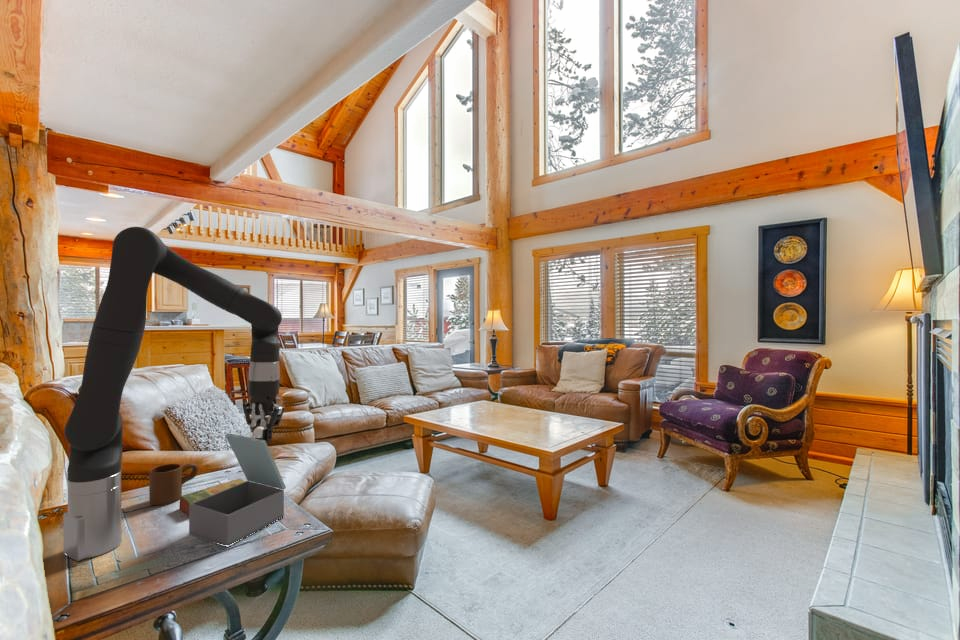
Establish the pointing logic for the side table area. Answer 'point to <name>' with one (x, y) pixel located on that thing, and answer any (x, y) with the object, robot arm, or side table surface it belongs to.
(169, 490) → the mug
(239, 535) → the storage box
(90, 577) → the side table surface
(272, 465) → the lid flap
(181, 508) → the carton
